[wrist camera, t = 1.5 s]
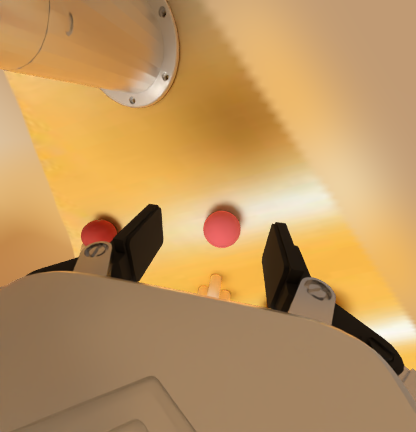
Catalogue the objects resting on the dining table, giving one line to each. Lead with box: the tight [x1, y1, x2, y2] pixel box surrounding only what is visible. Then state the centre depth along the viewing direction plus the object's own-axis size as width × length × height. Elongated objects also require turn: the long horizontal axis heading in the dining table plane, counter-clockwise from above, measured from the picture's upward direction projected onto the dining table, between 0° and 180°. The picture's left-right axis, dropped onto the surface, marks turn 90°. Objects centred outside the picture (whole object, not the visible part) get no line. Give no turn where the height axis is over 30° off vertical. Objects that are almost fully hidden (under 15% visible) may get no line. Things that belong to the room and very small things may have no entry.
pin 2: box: [219, 290, 230, 300], centre depth 38 cm, size 2×2×8 cm
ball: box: [203, 211, 240, 248], centre depth 29 cm, size 6×6×6 cm
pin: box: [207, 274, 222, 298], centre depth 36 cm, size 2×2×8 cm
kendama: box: [81, 219, 117, 251], centre depth 39 cm, size 8×6×18 cm
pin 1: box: [198, 286, 208, 296], centre depth 38 cm, size 2×2×8 cm
